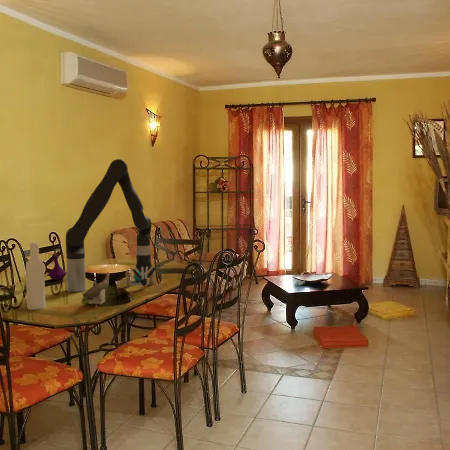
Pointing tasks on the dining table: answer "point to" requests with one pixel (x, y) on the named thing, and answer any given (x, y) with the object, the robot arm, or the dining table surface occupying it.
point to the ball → (137, 277)
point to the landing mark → (135, 283)
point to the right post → (151, 279)
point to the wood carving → (97, 291)
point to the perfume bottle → (56, 268)
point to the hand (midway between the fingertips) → (143, 285)
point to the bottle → (35, 279)
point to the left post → (128, 279)
